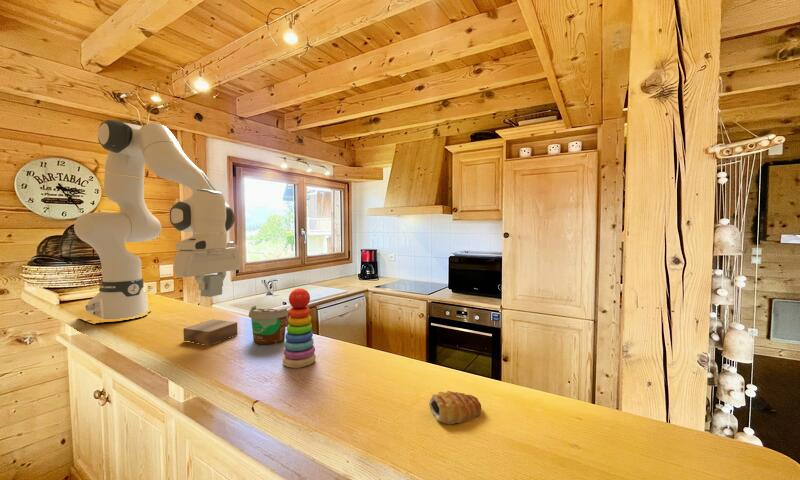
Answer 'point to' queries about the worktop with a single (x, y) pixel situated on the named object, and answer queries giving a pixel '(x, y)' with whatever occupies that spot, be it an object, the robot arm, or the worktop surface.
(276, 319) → the food container
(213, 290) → the blue-grey block
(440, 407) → the pastry
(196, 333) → the walnut base
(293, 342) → the stacking toy
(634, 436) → the worktop surface
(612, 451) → the worktop surface
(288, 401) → the worktop surface
